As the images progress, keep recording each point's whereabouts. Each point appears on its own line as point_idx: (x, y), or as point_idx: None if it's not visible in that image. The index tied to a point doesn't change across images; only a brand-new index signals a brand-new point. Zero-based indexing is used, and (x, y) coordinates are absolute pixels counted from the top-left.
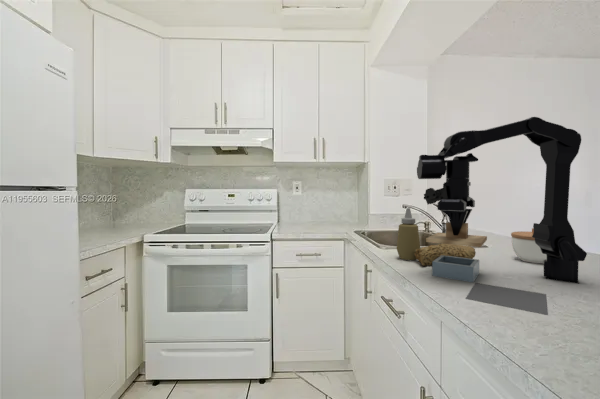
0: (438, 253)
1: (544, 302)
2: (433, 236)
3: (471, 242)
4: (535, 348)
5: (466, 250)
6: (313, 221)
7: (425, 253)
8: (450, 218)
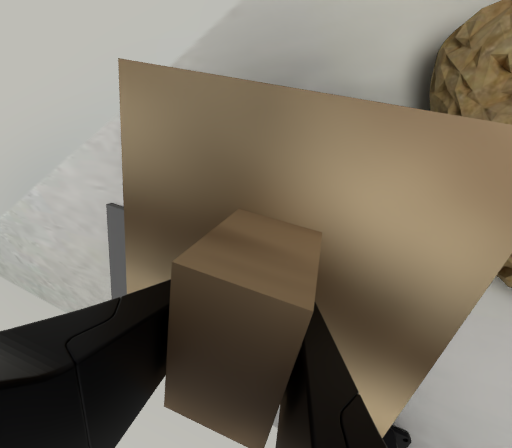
0: None
1: None
2: (237, 110)
3: None
4: (25, 257)
5: None
6: None
7: (464, 51)
8: (40, 336)
